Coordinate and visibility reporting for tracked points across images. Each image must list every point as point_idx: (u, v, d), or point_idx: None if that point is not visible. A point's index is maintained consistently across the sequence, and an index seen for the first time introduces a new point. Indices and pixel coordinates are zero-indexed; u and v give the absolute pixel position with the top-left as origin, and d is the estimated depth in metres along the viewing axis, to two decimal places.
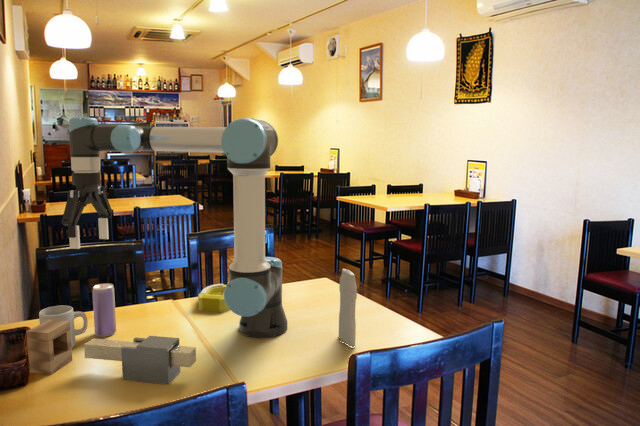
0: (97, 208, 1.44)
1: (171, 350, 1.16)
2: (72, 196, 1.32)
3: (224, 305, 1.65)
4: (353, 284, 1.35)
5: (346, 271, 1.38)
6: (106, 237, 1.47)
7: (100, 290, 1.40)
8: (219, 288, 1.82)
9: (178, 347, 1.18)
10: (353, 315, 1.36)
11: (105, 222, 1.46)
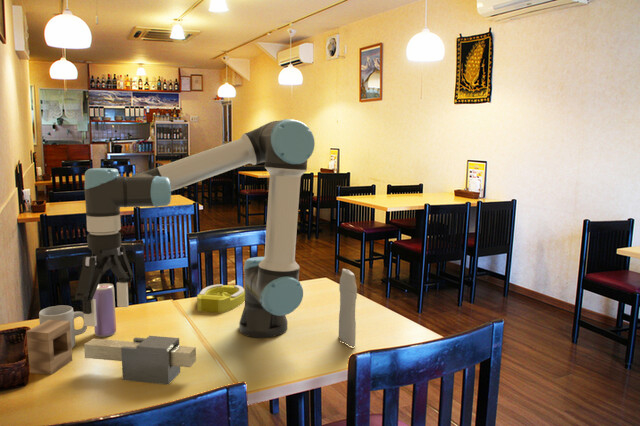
0: (116, 272, 1.22)
1: (171, 350, 1.16)
2: (88, 264, 1.10)
3: (223, 306, 1.64)
4: (353, 284, 1.35)
5: (346, 271, 1.38)
6: (125, 305, 1.25)
7: (100, 290, 1.40)
8: (218, 288, 1.81)
9: (178, 347, 1.18)
10: (353, 315, 1.36)
11: (125, 287, 1.24)
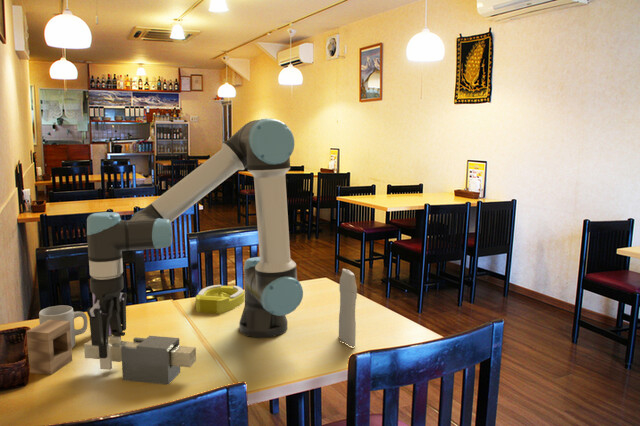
0: (112, 320, 1.21)
1: (171, 350, 1.16)
2: (94, 316, 1.12)
3: (222, 306, 1.63)
4: (353, 284, 1.35)
5: (346, 271, 1.38)
6: None
7: None
8: (217, 289, 1.80)
9: (178, 347, 1.18)
10: (353, 315, 1.36)
11: None
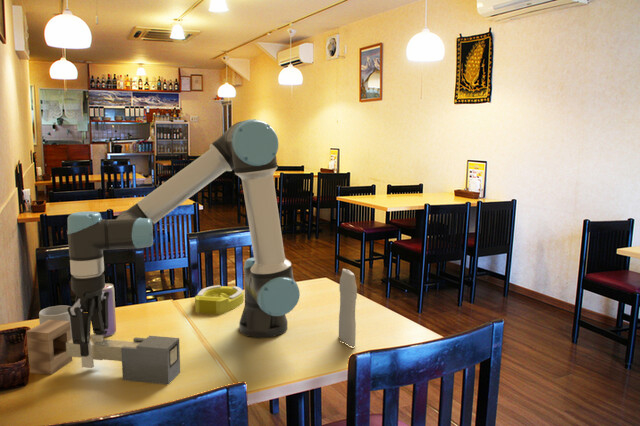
0: (94, 319, 1.22)
1: None
2: (74, 314, 1.13)
3: (221, 307, 1.63)
4: (353, 284, 1.35)
5: (346, 271, 1.38)
6: None
7: None
8: (216, 290, 1.80)
9: None
10: (353, 315, 1.36)
11: None
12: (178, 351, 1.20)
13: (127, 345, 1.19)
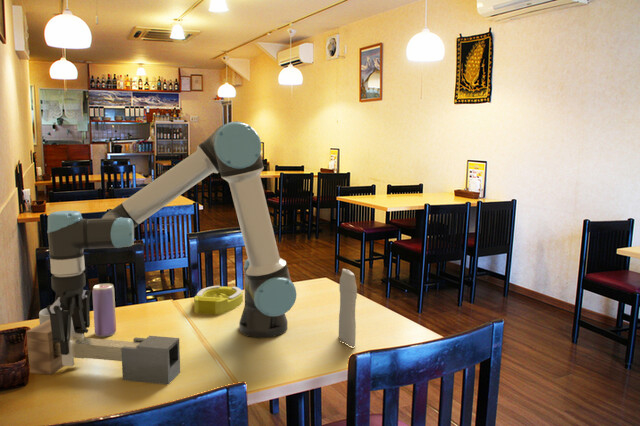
0: (75, 317, 1.22)
1: None
2: (54, 313, 1.14)
3: (220, 307, 1.62)
4: (353, 284, 1.35)
5: (346, 271, 1.38)
6: None
7: (100, 290, 1.40)
8: (215, 290, 1.79)
9: None
10: (353, 315, 1.36)
11: None
12: (178, 351, 1.20)
13: (107, 343, 1.19)
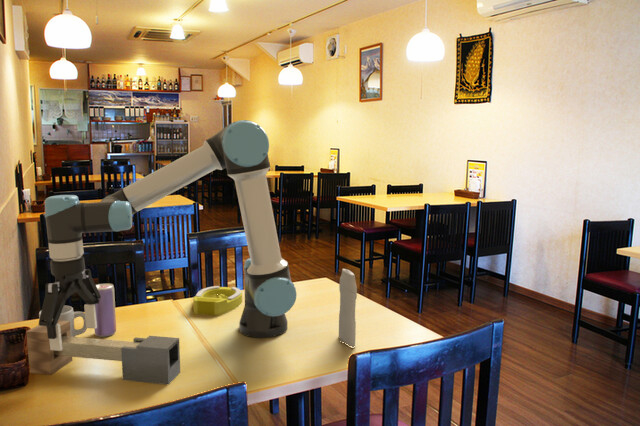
0: (82, 295, 1.25)
1: None
2: (51, 291, 1.12)
3: (219, 308, 1.62)
4: (353, 284, 1.35)
5: (346, 271, 1.38)
6: (94, 326, 1.28)
7: (100, 290, 1.40)
8: (215, 290, 1.79)
9: None
10: (353, 315, 1.36)
11: (92, 309, 1.27)
12: (178, 351, 1.20)
13: (107, 343, 1.19)
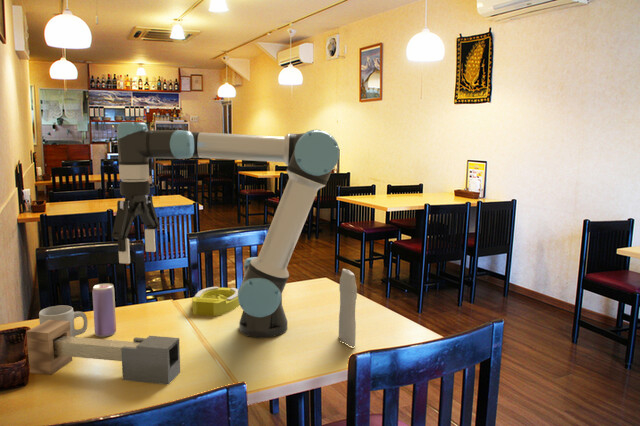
0: (145, 219, 1.35)
1: None
2: (122, 207, 1.22)
3: (219, 309, 1.61)
4: (353, 284, 1.35)
5: (346, 271, 1.38)
6: (153, 249, 1.38)
7: (100, 290, 1.40)
8: (214, 291, 1.78)
9: None
10: (353, 315, 1.36)
11: (152, 233, 1.37)
12: (178, 351, 1.20)
13: (107, 343, 1.19)
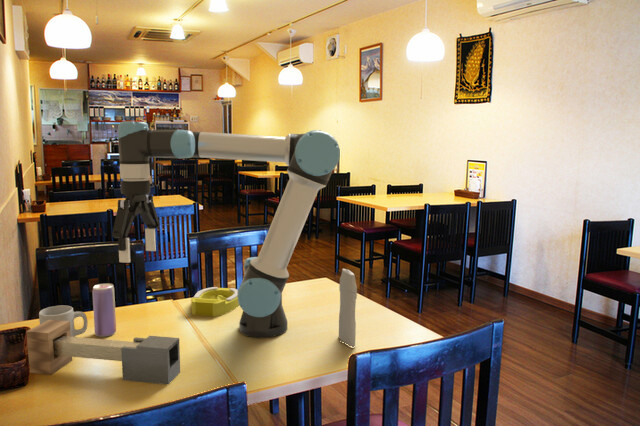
0: (145, 218, 1.35)
1: None
2: (122, 206, 1.23)
3: (218, 309, 1.60)
4: (353, 284, 1.35)
5: (346, 271, 1.38)
6: (153, 249, 1.38)
7: (100, 290, 1.40)
8: (213, 291, 1.77)
9: None
10: (353, 315, 1.36)
11: (152, 233, 1.37)
12: (178, 351, 1.20)
13: (107, 343, 1.19)
